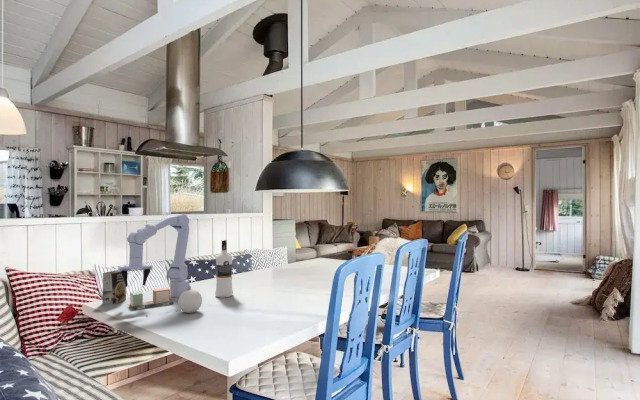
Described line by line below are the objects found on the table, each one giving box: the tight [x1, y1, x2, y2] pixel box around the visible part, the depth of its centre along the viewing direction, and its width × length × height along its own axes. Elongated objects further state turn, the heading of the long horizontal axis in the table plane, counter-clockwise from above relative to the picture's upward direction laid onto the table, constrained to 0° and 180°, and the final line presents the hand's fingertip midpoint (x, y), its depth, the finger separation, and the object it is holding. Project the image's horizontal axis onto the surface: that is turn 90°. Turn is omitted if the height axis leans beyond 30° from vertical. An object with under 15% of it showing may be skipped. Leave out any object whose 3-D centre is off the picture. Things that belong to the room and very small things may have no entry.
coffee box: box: [102, 269, 127, 305], centre depth 190 cm, size 9×6×16 cm
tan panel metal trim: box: [127, 300, 174, 311], centre depth 184 cm, size 18×13×3 cm
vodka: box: [214, 239, 234, 299], centre depth 206 cm, size 9×9×30 cm
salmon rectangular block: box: [152, 287, 171, 303], centre depth 189 cm, size 4×7×6 cm, turn 127°
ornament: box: [177, 285, 203, 314], centre depth 174 cm, size 10×10×12 cm
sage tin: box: [129, 290, 144, 307], centre depth 182 cm, size 4×7×6 cm, turn 37°
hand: (135, 285), depth 182 cm, fingers open, 7 cm apart
